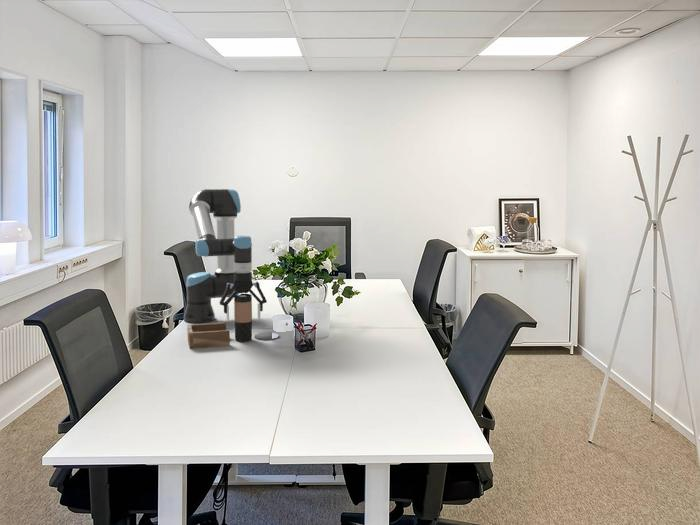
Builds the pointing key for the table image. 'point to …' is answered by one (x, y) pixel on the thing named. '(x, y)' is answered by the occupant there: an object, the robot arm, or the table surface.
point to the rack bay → (208, 335)
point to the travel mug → (243, 317)
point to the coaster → (263, 336)
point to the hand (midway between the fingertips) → (243, 319)
